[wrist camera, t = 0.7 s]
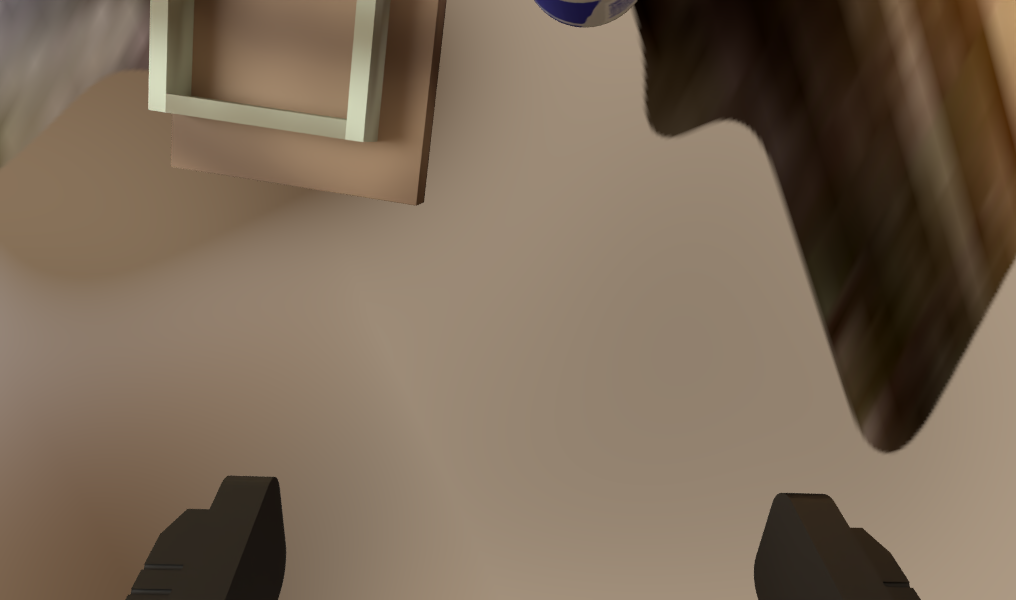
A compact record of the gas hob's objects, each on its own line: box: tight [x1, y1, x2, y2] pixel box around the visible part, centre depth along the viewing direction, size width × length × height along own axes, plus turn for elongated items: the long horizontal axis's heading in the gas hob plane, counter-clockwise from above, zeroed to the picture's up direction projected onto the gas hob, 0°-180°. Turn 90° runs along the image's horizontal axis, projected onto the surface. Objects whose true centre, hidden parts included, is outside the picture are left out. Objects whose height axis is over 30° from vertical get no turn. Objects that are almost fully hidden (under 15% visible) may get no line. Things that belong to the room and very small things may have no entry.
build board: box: [148, 0, 446, 205], centre depth 32 cm, size 15×12×4 cm
